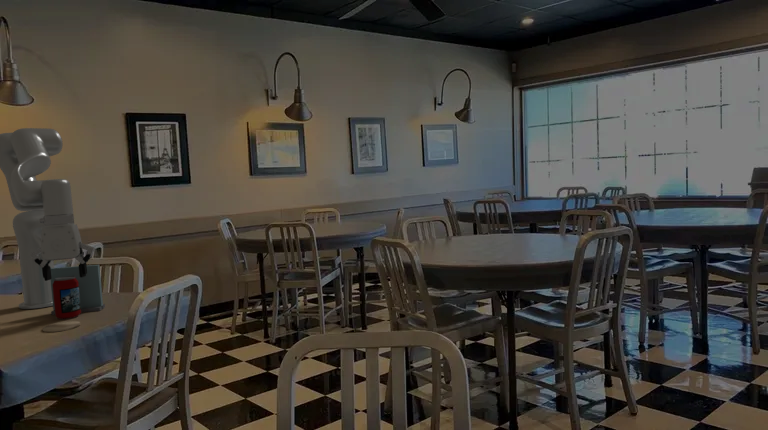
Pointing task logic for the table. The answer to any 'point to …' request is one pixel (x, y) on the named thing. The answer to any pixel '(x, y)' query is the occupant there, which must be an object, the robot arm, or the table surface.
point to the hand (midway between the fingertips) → (65, 278)
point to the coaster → (61, 326)
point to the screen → (83, 286)
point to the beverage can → (66, 297)
